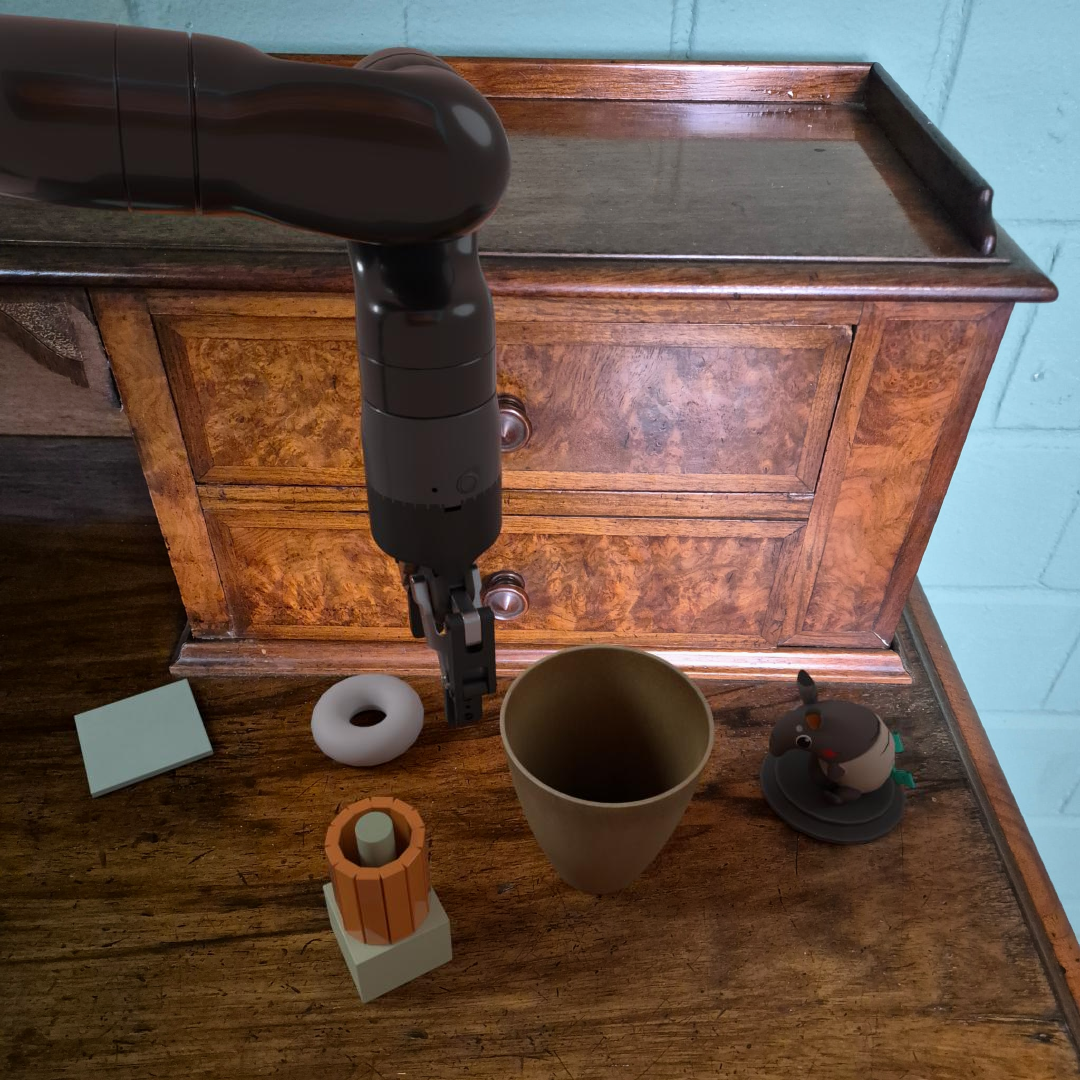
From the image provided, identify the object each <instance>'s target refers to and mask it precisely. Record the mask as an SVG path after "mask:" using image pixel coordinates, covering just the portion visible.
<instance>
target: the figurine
mask: <svg viewBox="0 0 1080 1080" xmlns="http://www.w3.org/2000/svg"><path fill="white" fill-rule="evenodd" d="M796 688H797V691H798V694H799V697H800V698H801V701H802V703H803V704H801V705H797V706H794V707H793V708H792V709H791V710H788V711H787V712H786V713H785V714H784V715H783V716H781V717H780V718H779V719H778V720H777V721H776V722H775V724H774V726H773V727H772V729H771V732H770V734H769V740H768V749H769V752H767V754H766V755H765V756H764V759H763V762H762V765H761V768H760V771H759V774H758V776H759V777H758V778H759V782H760V789H761V795H762V796H763V797H764V799H765V801H766V802H767V804H768V806H769V807H770V809H771V810H772V812H773V813H774V814H776V815H777V816H778V817H779V818H780V819H781V820H783V821H784V822H785V823H786V824H787V825H788V826H790V827H791V828H792V829H793V830H796V831H798V832H800V833H803V834H805V835H807V836H809V837H811V838H813V839H815V840H818V841H823V842H829V843H833V844H838V845H855V844H857V845H858V844H867V843H871V842H874V841H876V840H878V839H881V838H883V837H885V836H887V835H889V834H890V833H891V832H892V831H893V830H894V829H895V827H896V826H897V825H898V824H899V823H900V822H901V820H902V818H903V815H904V811H905V810H904V809H905V804H906V799H907V798H906V795H905V792H904V787H903V785H904V786H906V787H908V789H910V790H916V784H915V781H914V779H913V776H912V774H911V771H910V770H902V769H900V770H899V769H896V767H895V764H896V762H895V761H896V759H895V758H896V753H897V754H902V753H904V747H903V744H902V741H901V739H900V736H899V733H898V731H897V730H895V731H893V732H891V731H890V730H889V728H888V727H887V725H886V724H885V722H884V721H883V719H882V718H881V717H880V716H879V715H878V714H877V713H875V712H874V711H872V710H871V709H869V708H868V707H867V706H865V705H861V704H858V703H856V702H853V701H848V700H842V699H823V700H819V693H818V688H817V685H816V682H815V681H814V679H813V677H812V676H811V675H810V674H809V673H808V672H807V670H805V669H800V670H798V672H797V677H796Z"/></svg>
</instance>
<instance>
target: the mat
mask: <svg viewBox="0 0 1080 1080" xmlns="http://www.w3.org/2000/svg"><path fill="white" fill-rule="evenodd" d="M73 716H74V721H75V725H76V731H77V735H78V740H79V744H80V749H81V753H82V757H83V762H84V768H85V771H86V776H87V781H88V786H89V790H90V794H91V796H92V798H93V799H95V798H98V797H100V796H103V795H105V794H108V793H112V792H113V791H117V790H120V789H122V788H124V787H127V786H128V787H129V786H131V785H133V784H136V783H138V782H140V781H145V780H147V779H149V778H152V777H155V776H157V775H160V774H163V773H165V772H168V771H169V772H170V771H171V770H174V769H176V768H177V769H178V768H180V767H182V766H185V765H187V764H190V763H193V762H195V761H198V760H201V759H204V758H207V757H209V756H212V755H214V751H213V747H212V745H211V742H210V739H209V735H208V734H207V730H206V727H205V726H204V721H203V719H202V716H201V714H200V712H199V709H198V706H197V703H196V700H195V697H194V695H193V692H192V689H191V685H190V684H189V681H188V679H187V678H184V679H181V680H177V681H175V682H172V683H169V684H166V685H163V686H160V687H156V688H154V689H150V690H148V691H145V692H142V693H138V694H136V695H133V696H130V697H127V698H123V699H121V700H118V701H115V702H113V703H109V704H106V705H103V706H100V707H97V708H94V709H90V710H88V711H84V712H82V713H79V714H76V715H73Z"/></svg>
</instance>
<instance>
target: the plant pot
mask: <svg viewBox="0 0 1080 1080" xmlns="http://www.w3.org/2000/svg"><path fill="white" fill-rule="evenodd" d="M499 728H500V729H499V731H500V736H501V740H502V744H503V751H504V753H505V756H506V761H507V764H508V765H507V766H508V769H509V773H510V778H511V780H512V783H513V786H514V787H513V788H514V790H515V794H516V796H517V798H518V801H519V804H520V806H521V809H522V812H523V814H524V817H525V819H526V821H527V823H528V825H529V828H530V829H531V832H532V833H533V835H534V838H535V840H536V842H537V844H538V845H539V847H540V848H541V850H542V853H544V854H543V855H545V857H546V858H547V860H548V861H549V863H550V865H551V866H552V868H554V870H555V871H556V873H557V874H558V875H559V877H560V878H561V879H562V880H563V881H564V882H565V883H567V884H568V885H569V886H570V887H572V888H574V889H576V890H578V891H581V892H584V893H587V894H593V895H608V894H612V893H616V892H618V891H621V890H623V889H625V888H627V887H628V886H629V885H631V884H632V883H633V882H634V881H635V880H636V879H637V878H638V877H639V876H640V875H641V874H642V873H643V872H644V871H645V870H646V869H647V868H648V866H649V865H651V863H652V862H653V861H654V860H655V858H656V857H657V856H658V854H660V852H661V851H662V849H663V848H664V847H665V845H666V843H667V842H668V841H669V839H670V838H671V836H672V835H673V833H674V831H675V830H676V829H677V827H678V825H679V823H680V822H681V820H682V818H683V816H684V814H685V812H686V810H687V809H688V807H689V804H690V802H691V800H692V799H693V796H694V794H695V792H696V789H697V787H698V785H699V782H700V781H701V778H702V776H703V773H704V771H705V769H706V766H707V764H708V761H709V758H710V756H711V753H712V750H713V746H714V739H715V724H714V716H713V712H712V710H711V706H710V704H709V702H708V701H707V699H706V696H705V695H704V693H703V692H702V691H701V689H700V688H699V686H698V685H697V684H696V683H695V682H694V680H692V679H691V677H689V675H687V674H686V673H685V672H684V671H682V670H681V669H680V668H678V667H677V666H676V665H675V664H673V663H671V662H670V661H667V660H666V659H664V658H663V657H660V656H658V655H656V654H653V653H651V652H648V651H645V650H643V649H639V648H634V647H630V646H624V645H620V644H619V645H618V644H606V643H605V644H601V643H600V644H599V643H598V644H583V645H578V646H577V645H576V646H572V647H567V648H564V649H560V650H558V651H555V652H553V653H550V654H547V655H546V656H543V657H542V658H539V659H538V660H536V661H535V662H534V663H532V664H530V665H529V666H528V667H527V668H525V669H524V670H523V671H522V672H521V673H520V674H519V675H517V676H516V678H515V679H514V680H513V682H512V683H511V684H510V686H509V687H508V690H507V691H506V694H505V695H504V698H503V700H502V703H501V706H500V711H499Z"/></svg>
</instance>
